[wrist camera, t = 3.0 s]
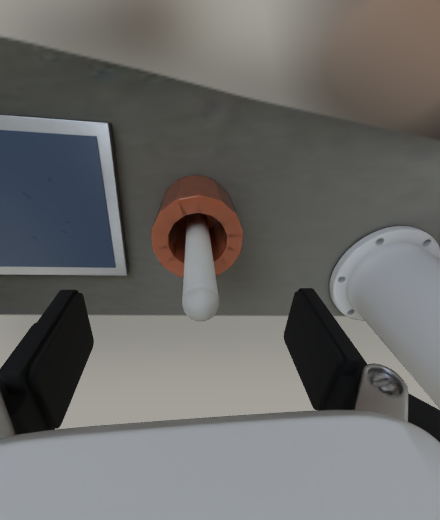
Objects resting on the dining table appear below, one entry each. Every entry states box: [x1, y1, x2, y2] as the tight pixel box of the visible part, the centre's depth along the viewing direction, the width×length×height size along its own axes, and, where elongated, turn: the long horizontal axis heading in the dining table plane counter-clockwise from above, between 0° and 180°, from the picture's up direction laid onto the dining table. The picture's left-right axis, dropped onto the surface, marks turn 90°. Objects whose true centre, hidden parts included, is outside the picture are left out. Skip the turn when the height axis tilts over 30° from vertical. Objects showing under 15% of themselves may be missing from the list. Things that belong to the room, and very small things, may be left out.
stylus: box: [182, 213, 219, 321], centre depth 18 cm, size 2×2×14 cm
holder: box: [151, 175, 244, 277], centre depth 22 cm, size 7×7×7 cm
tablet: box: [0, 114, 129, 276], centre depth 22 cm, size 20×14×1 cm
